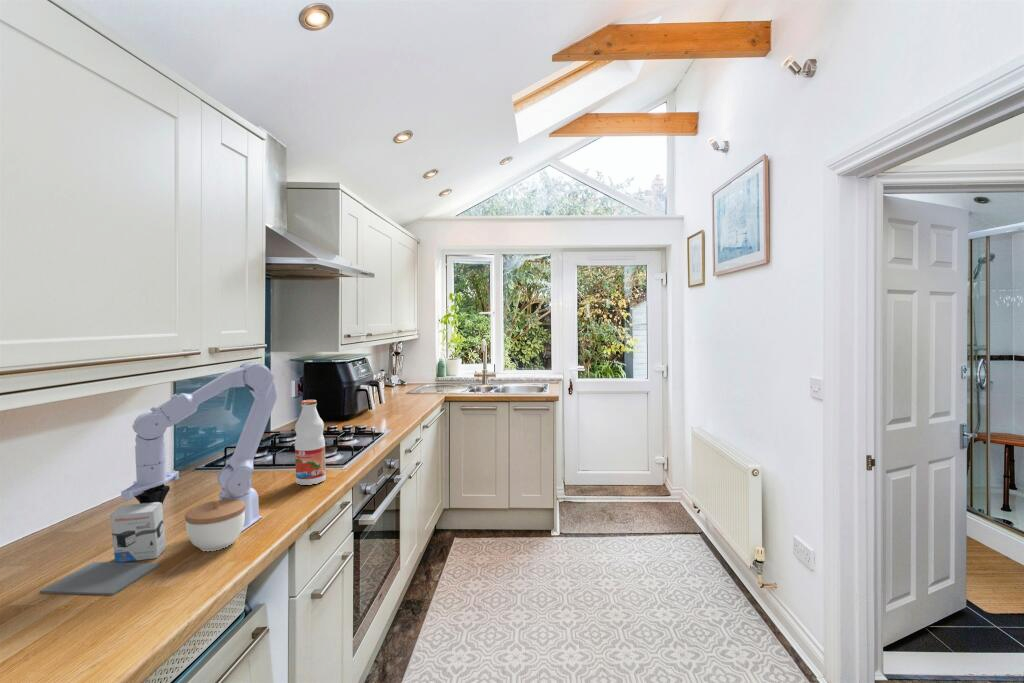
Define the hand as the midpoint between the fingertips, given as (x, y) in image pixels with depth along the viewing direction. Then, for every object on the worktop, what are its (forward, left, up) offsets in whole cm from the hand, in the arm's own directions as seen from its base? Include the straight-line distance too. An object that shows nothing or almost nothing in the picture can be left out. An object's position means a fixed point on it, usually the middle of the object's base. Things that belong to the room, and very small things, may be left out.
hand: (153, 518), depth 114 cm
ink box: (+4, 0, -7) cm, 8 cm away
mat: (+13, 0, -7) cm, 15 cm away
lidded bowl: (-3, +14, -8) cm, 16 cm away
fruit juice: (-48, +15, -8) cm, 51 cm away
